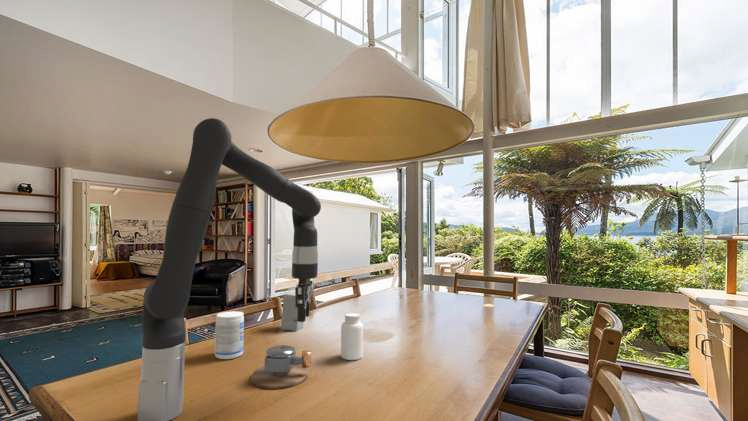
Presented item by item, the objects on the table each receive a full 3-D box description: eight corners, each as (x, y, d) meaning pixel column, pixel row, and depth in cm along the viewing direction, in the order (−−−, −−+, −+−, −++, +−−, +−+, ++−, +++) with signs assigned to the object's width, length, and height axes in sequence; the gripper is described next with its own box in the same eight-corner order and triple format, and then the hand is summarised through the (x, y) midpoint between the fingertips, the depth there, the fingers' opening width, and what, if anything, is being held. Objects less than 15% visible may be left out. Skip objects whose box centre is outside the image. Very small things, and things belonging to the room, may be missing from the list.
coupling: (262, 372, 108) (262, 354, 109) (270, 361, 117) (271, 345, 117) (307, 373, 108) (308, 355, 109) (312, 362, 117) (313, 346, 117)
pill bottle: (351, 351, 136) (351, 311, 137) (367, 356, 131) (368, 314, 132) (335, 357, 130) (336, 314, 131) (352, 362, 125) (353, 318, 126)
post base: (301, 389, 104) (302, 368, 104) (242, 388, 104) (243, 367, 104) (312, 366, 121) (312, 348, 122) (261, 365, 122) (262, 347, 122)
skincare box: (280, 329, 163) (281, 294, 164) (288, 325, 170) (289, 291, 170) (297, 331, 160) (298, 295, 161) (305, 327, 167) (305, 292, 168)
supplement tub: (246, 357, 129) (247, 315, 129) (217, 362, 123) (218, 318, 124) (239, 349, 137) (240, 309, 137) (212, 353, 132) (213, 312, 132)
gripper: (313, 264, 101) (311, 325, 100) (321, 259, 115) (319, 313, 115) (286, 263, 101) (284, 325, 100) (297, 259, 115) (296, 312, 115)
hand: (303, 318), depth 107 cm, fingers open, 5 cm apart
